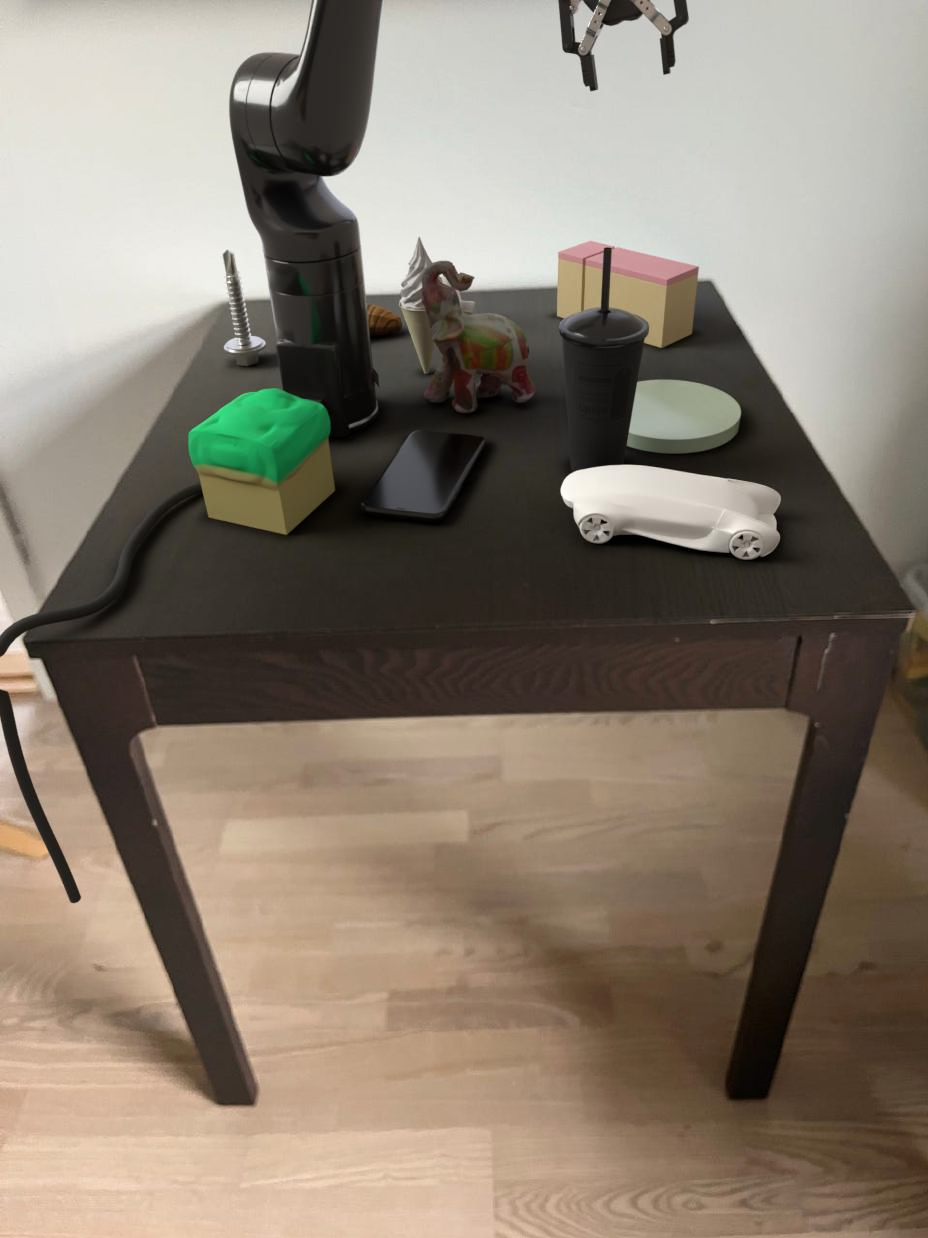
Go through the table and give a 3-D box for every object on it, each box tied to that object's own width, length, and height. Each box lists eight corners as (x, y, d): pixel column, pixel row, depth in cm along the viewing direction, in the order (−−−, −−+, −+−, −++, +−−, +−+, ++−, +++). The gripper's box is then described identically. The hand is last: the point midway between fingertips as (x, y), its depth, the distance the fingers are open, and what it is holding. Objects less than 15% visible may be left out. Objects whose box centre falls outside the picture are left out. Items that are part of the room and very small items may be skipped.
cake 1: (351, 483, 90) (339, 381, 84) (289, 540, 83) (270, 433, 77) (263, 466, 94) (245, 367, 88) (196, 519, 86) (171, 415, 80)
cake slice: (611, 310, 124) (615, 246, 119) (580, 323, 121) (583, 257, 116) (587, 303, 126) (590, 240, 122) (556, 316, 123) (558, 251, 118)
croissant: (290, 344, 119) (283, 304, 116) (302, 324, 124) (297, 285, 121) (398, 344, 118) (395, 303, 115) (406, 324, 123) (403, 284, 120)
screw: (275, 362, 115) (239, 373, 112) (255, 350, 118) (219, 361, 115) (257, 248, 107) (217, 258, 104) (236, 240, 110) (197, 249, 107)
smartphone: (412, 436, 97) (356, 516, 85) (411, 428, 97) (355, 507, 85) (488, 443, 96) (443, 525, 83) (488, 434, 95) (442, 516, 83)
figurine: (435, 385, 107) (427, 245, 98) (540, 394, 104) (542, 251, 95) (413, 414, 102) (402, 269, 93) (523, 425, 99) (523, 276, 90)
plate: (734, 460, 91) (736, 445, 90) (586, 445, 94) (587, 431, 94) (743, 398, 102) (745, 385, 101) (610, 387, 105) (611, 374, 104)
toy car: (777, 514, 83) (785, 466, 80) (776, 564, 77) (785, 515, 74) (569, 493, 87) (570, 448, 84) (552, 539, 81) (553, 492, 78)
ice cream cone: (448, 381, 108) (441, 242, 99) (402, 382, 108) (391, 244, 99) (449, 363, 112) (442, 228, 103) (405, 364, 112) (395, 230, 103)
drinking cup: (645, 454, 93) (662, 237, 81) (629, 492, 87) (645, 265, 75) (567, 444, 95) (573, 232, 83) (546, 481, 89) (549, 259, 77)
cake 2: (692, 333, 117) (699, 266, 112) (661, 348, 113) (667, 279, 109) (614, 311, 124) (617, 246, 119) (583, 324, 121) (585, 258, 116)
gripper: (542, -69, 105) (565, 97, 113) (675, -107, 101) (690, 69, 108) (554, -63, 112) (575, 94, 119) (680, -99, 107) (694, 66, 114)
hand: (630, 82), depth 114 cm, fingers open, 8 cm apart
